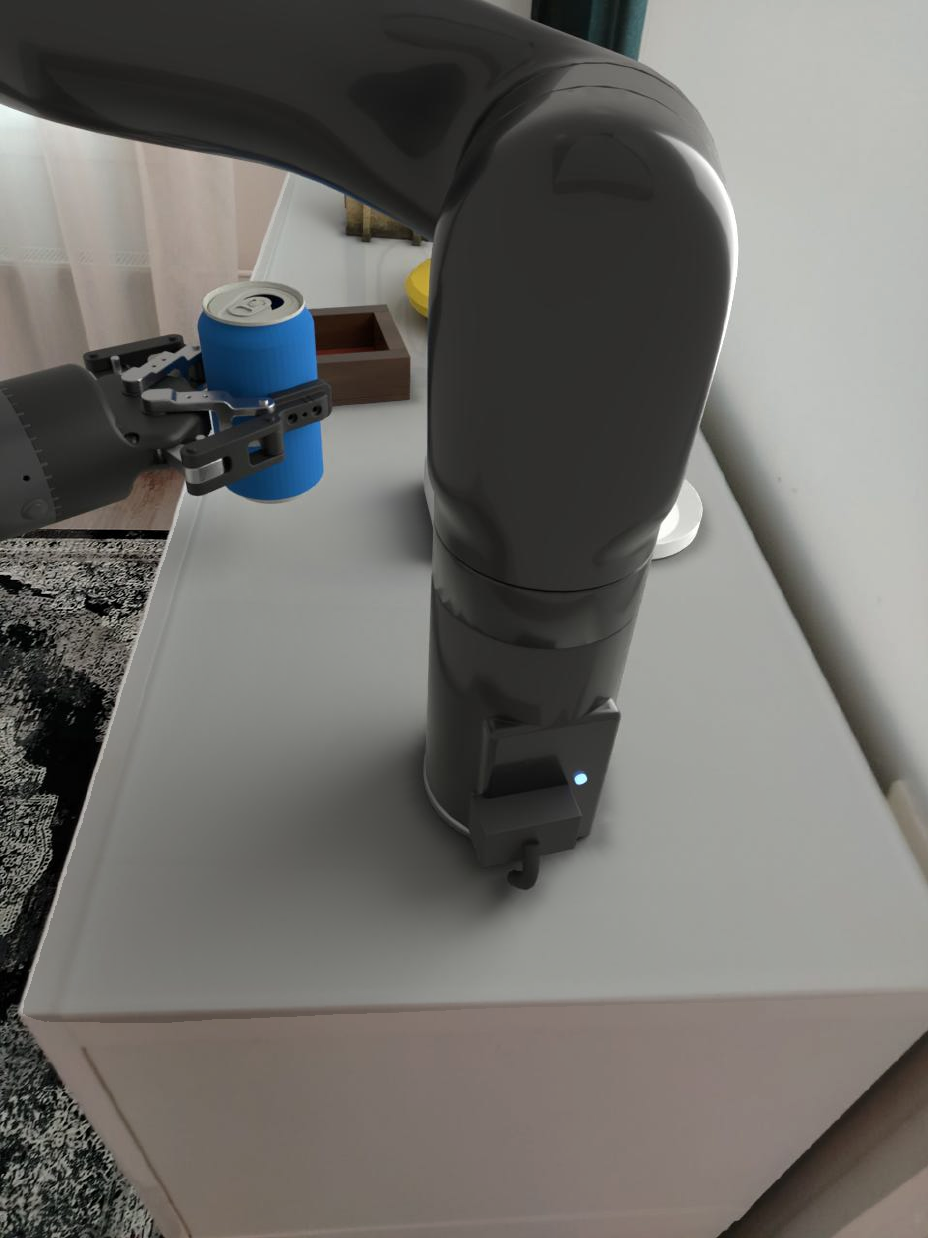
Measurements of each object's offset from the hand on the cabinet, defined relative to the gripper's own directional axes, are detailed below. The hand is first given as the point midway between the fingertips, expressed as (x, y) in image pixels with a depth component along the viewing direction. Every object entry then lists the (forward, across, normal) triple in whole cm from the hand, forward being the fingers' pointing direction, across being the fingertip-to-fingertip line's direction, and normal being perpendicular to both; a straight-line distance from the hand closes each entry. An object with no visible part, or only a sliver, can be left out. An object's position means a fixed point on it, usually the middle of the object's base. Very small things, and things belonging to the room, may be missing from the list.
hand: (295, 372), depth 54 cm
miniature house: (+43, +47, +12) cm, 65 cm away
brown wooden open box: (+15, +19, +13) cm, 27 cm away
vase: (+34, +21, +13) cm, 42 cm away
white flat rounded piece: (+17, -8, +13) cm, 23 cm away
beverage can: (-2, 0, +7) cm, 8 cm away
